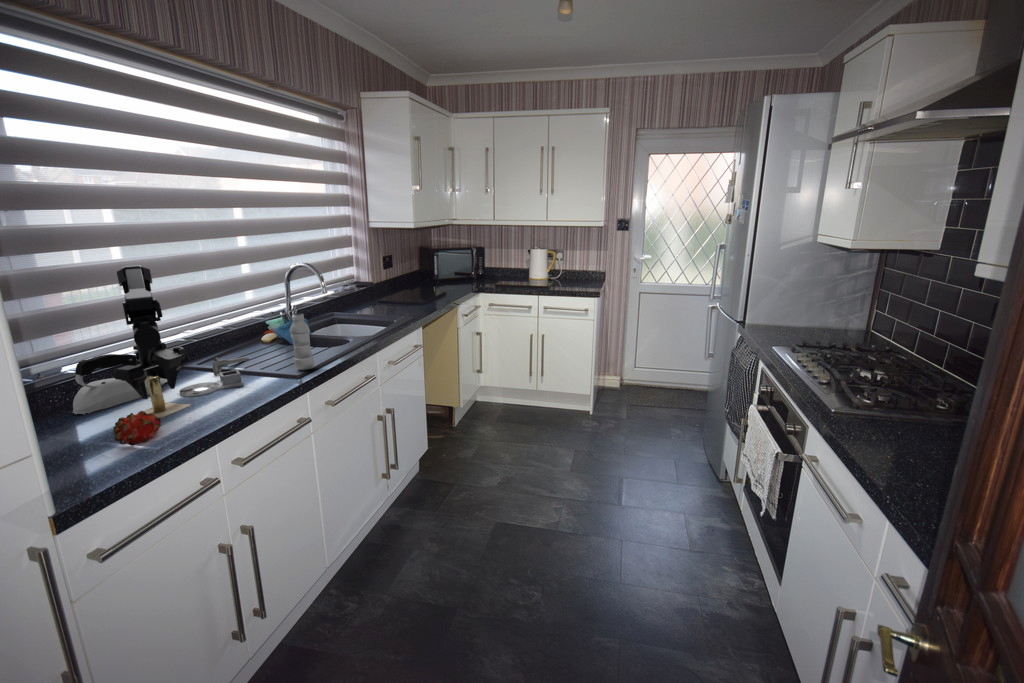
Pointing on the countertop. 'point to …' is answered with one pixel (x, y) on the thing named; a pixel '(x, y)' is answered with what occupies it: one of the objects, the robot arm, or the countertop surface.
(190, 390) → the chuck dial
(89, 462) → the countertop surface
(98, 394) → the iron
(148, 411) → the tan square plate
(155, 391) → the brass cylinder
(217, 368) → the caliper
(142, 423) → the dragon fruit
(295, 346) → the plastic bottle
